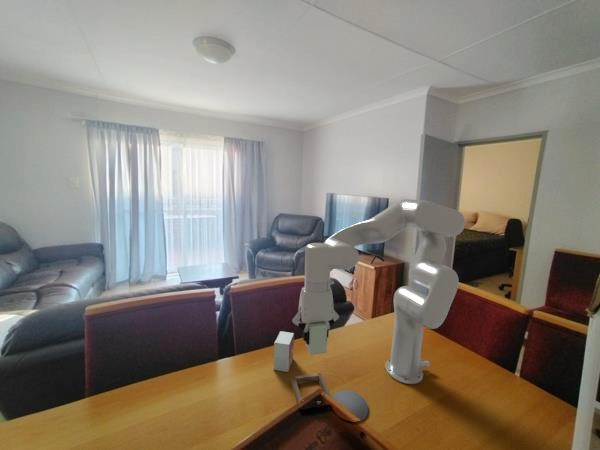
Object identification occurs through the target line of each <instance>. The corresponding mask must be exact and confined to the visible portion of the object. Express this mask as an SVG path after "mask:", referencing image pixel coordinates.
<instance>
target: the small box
mask: <svg viewBox="0 0 600 450" xmlns="http://www.w3.org/2000/svg"><path fill="white" fill-rule="evenodd" d="M294 340H295V333H294V332H289V331H288V332H287V331H281V330H280V331H279V333H278V335H277V337H276V339H275V341H274V343H273V369H272V370H274V371H280V372H284V373H285V372H286V373H289V372H290V371H289V370H290V369H291V365H292V362H293V360H294V345H295V344H294V343H295V341H294Z"/></svg>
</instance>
